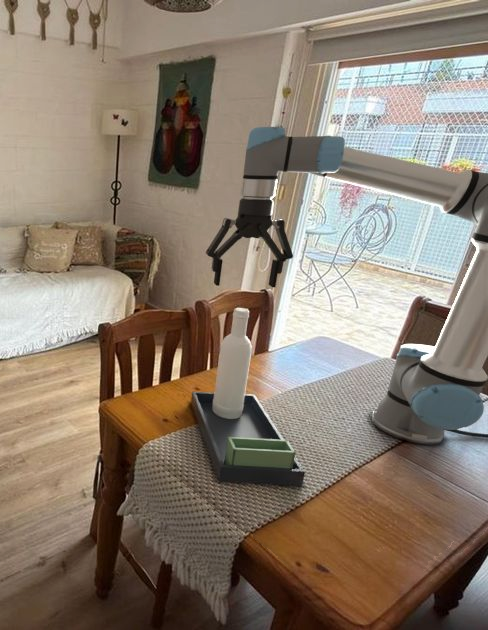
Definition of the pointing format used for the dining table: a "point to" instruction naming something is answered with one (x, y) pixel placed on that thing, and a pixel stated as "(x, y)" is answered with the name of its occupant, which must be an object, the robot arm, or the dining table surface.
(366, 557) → the dining table surface
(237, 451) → the green open box
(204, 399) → the tray
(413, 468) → the dining table surface
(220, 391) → the bottle
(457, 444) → the dining table surface
